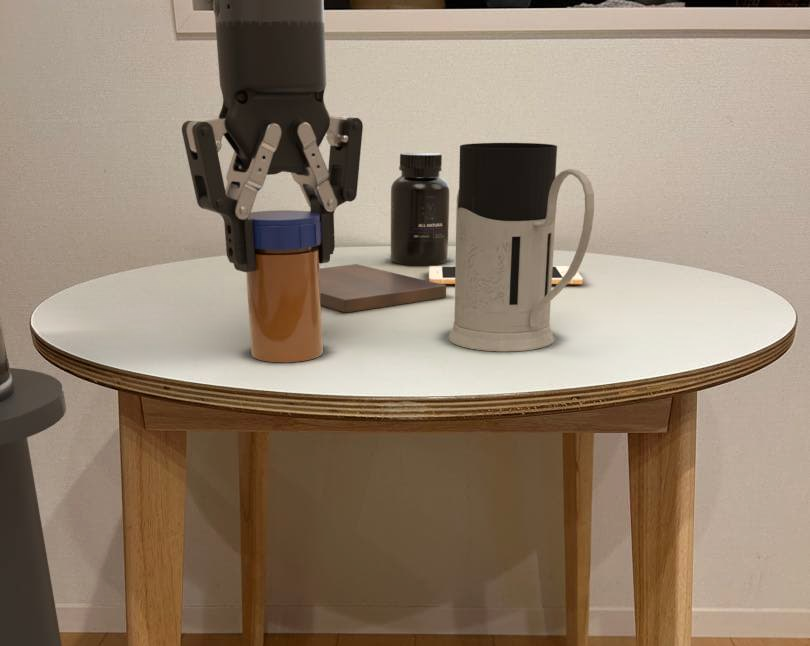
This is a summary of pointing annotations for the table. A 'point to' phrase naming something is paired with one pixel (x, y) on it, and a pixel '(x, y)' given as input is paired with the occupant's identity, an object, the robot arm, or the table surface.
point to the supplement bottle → (419, 211)
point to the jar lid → (286, 229)
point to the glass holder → (509, 245)
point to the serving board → (372, 288)
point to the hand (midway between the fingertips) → (283, 265)
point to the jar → (285, 305)
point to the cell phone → (448, 275)
